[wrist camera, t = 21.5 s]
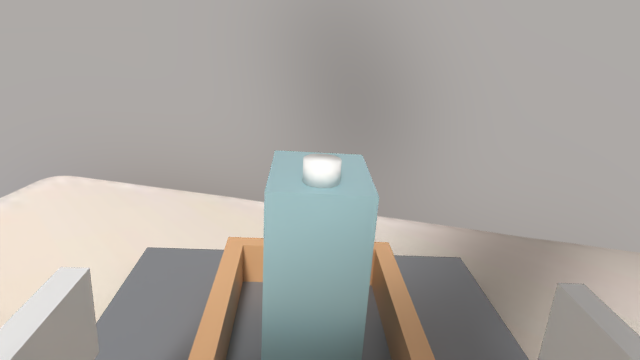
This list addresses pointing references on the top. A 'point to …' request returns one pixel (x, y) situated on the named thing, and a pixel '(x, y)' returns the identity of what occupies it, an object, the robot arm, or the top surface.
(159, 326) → the plate
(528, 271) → the top surface
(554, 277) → the top surface
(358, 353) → the block
